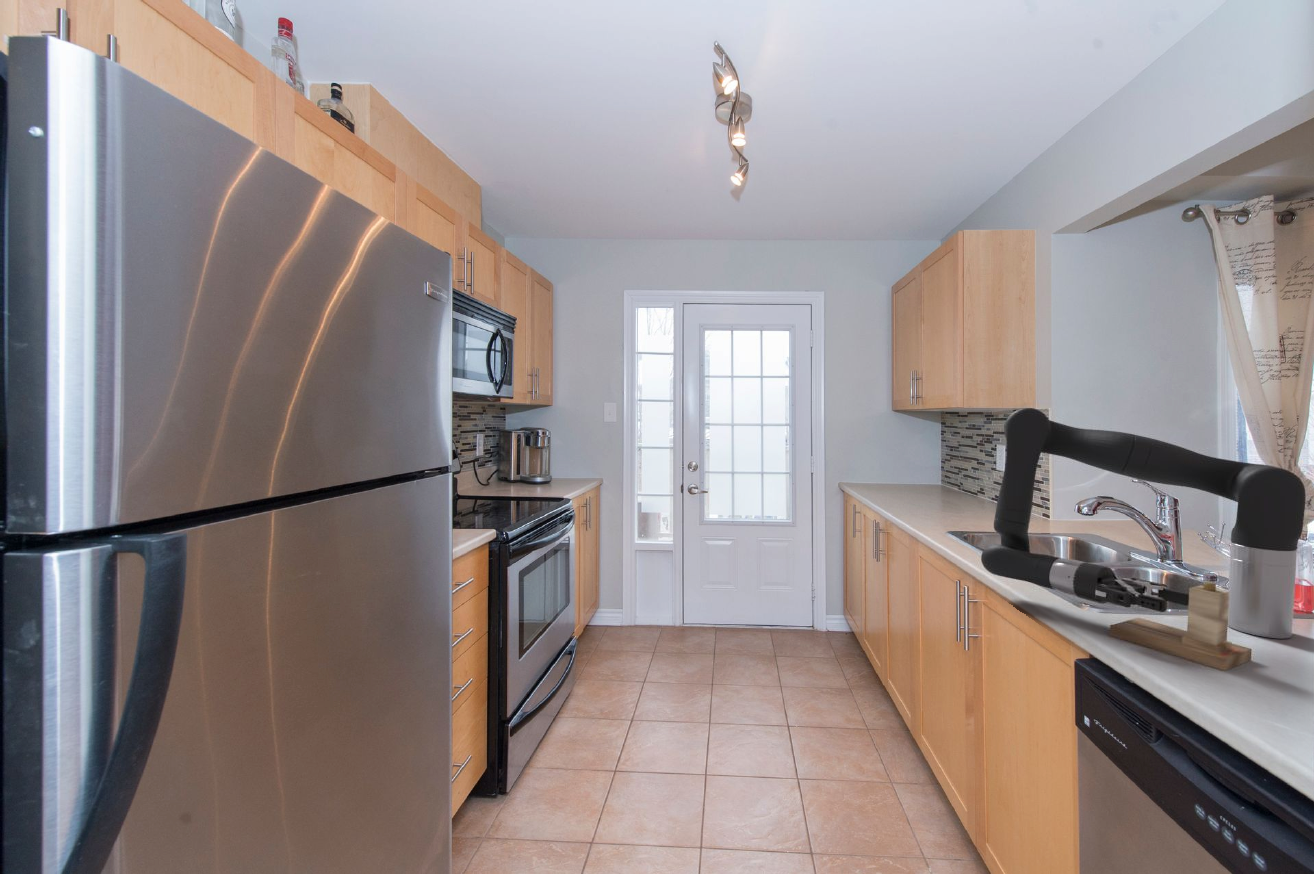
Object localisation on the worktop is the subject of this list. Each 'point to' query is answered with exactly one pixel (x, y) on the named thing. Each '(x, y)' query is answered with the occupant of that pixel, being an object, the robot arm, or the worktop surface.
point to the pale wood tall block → (1208, 619)
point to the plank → (1176, 643)
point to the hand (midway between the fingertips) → (1178, 603)
